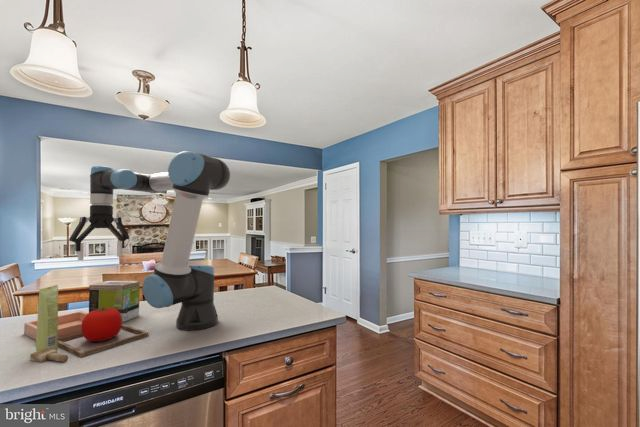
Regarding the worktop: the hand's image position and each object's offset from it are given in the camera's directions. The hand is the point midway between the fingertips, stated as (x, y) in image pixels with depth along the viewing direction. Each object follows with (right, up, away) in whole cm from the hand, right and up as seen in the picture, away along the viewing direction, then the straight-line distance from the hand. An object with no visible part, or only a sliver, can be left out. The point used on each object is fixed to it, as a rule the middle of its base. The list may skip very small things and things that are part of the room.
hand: (100, 258), depth 122 cm
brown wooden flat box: (-5, -25, -11) cm, 28 cm away
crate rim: (+14, -25, -19) cm, 34 cm away
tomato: (+14, -25, -19) cm, 34 cm away
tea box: (+3, -26, +4) cm, 26 cm away
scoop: (+10, -24, -34) cm, 43 cm away
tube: (+3, -25, -28) cm, 37 cm away
